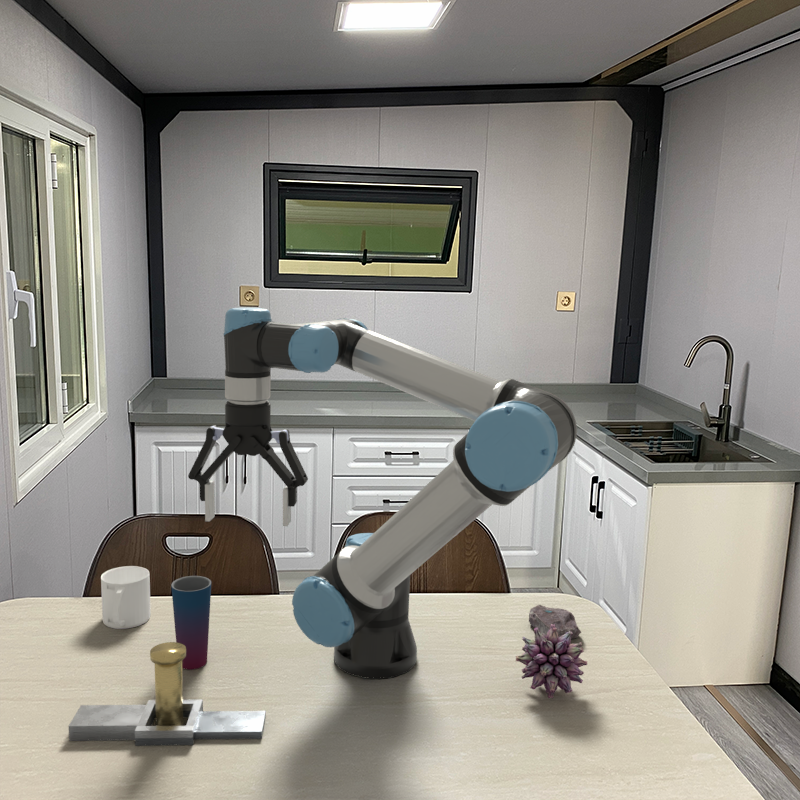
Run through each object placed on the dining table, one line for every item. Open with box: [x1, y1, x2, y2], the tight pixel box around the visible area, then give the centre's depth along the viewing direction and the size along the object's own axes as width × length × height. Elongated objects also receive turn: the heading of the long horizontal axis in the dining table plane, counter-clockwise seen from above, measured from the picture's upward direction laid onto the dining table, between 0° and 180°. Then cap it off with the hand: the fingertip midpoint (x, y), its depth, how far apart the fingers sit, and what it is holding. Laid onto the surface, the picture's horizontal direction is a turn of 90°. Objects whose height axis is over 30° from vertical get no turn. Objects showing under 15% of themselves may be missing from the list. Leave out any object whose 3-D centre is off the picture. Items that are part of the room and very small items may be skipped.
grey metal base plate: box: [67, 698, 267, 747], centre depth 122 cm, size 28×8×2 cm, turn 94°
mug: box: [100, 565, 151, 630], centre depth 156 cm, size 12×9×9 cm
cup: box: [170, 575, 212, 671], centre depth 141 cm, size 7×7×15 cm
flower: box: [515, 624, 588, 699], centre depth 135 cm, size 12×12×12 cm
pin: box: [149, 641, 186, 726], centre depth 121 cm, size 5×5×13 cm
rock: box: [528, 604, 582, 640], centre depth 158 cm, size 8×11×5 cm
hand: (248, 521), depth 137 cm, fingers open, 13 cm apart
